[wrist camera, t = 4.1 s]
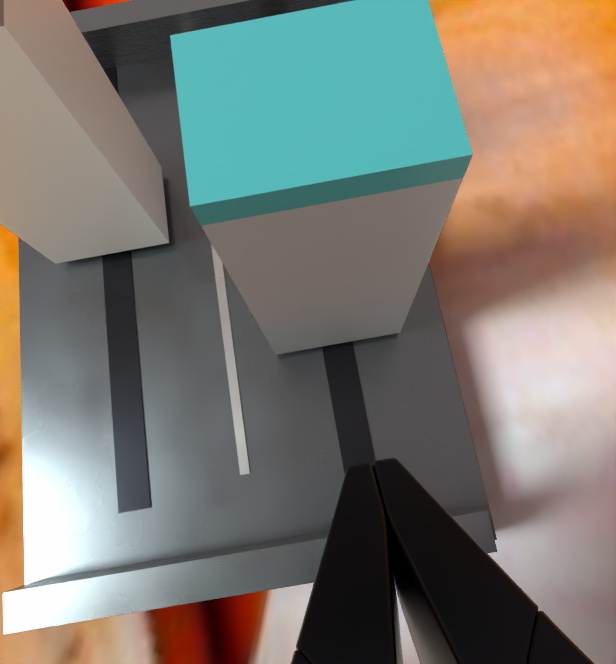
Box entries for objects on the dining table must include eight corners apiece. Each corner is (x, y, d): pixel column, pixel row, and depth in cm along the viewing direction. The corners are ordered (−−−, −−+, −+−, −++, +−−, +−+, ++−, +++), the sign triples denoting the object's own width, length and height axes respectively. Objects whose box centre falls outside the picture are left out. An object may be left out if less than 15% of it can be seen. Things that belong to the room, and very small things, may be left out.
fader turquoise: (400, 332, 16) (472, 154, 7) (275, 354, 17) (189, 206, 7) (381, 246, 17) (424, -14, 8) (262, 268, 17) (169, 35, 8)
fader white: (169, 242, 18) (-20, -5, 9) (54, 263, 18) (-254, 40, 9) (161, 167, 19) (-19, -135, 9) (52, 187, 19) (-233, -92, 9)
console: (485, 534, 16) (516, 548, 13) (47, 608, 16) (-16, 637, 14) (362, 24, 22) (365, -45, 19) (32, 87, 22) (-15, 28, 19)
